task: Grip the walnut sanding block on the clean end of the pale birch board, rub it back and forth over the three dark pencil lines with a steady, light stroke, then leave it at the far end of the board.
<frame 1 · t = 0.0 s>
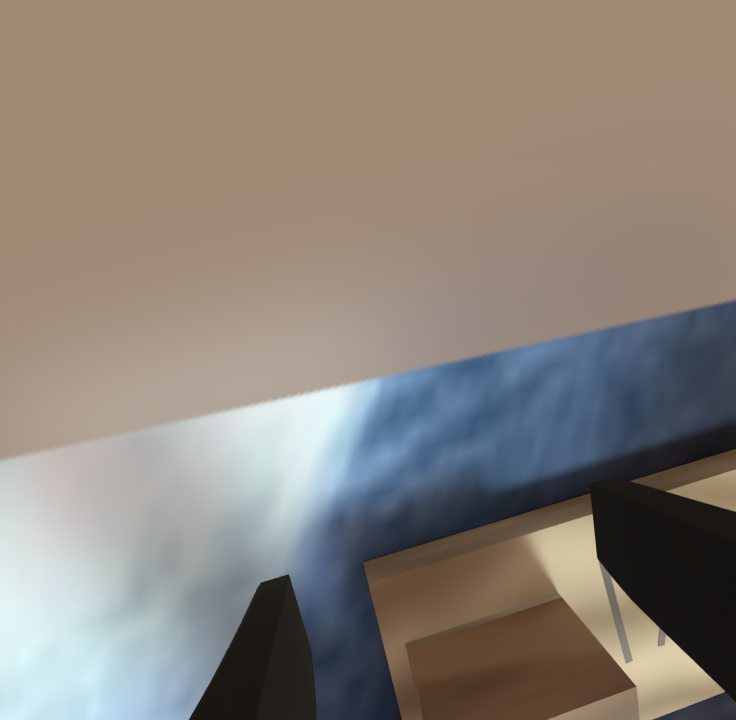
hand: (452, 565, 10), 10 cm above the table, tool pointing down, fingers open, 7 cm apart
board: (597, 605, 24), on the table
sanding block: (490, 654, 21), point 1 cm above the table, touching board
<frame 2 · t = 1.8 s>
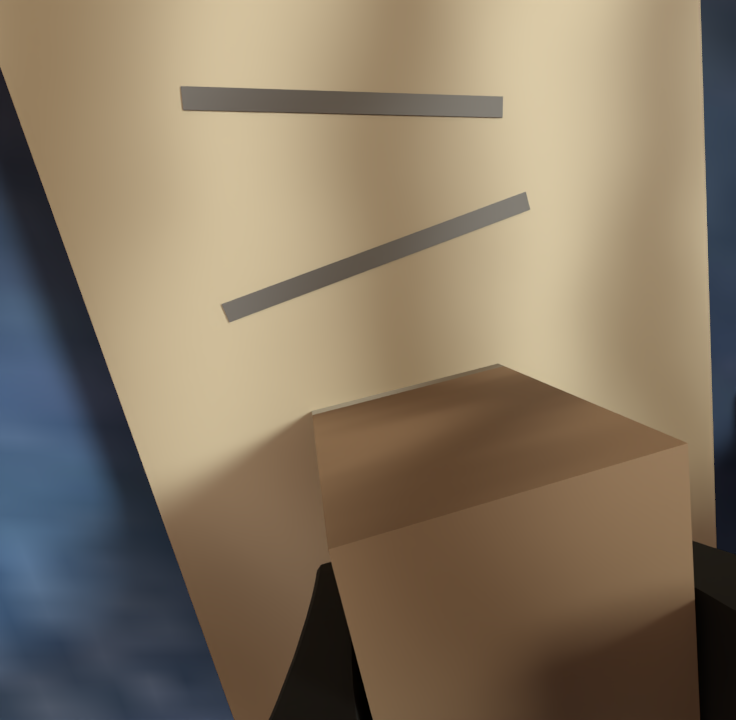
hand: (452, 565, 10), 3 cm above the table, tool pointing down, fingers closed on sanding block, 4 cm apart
board: (408, 250, 11), on the table
sanding block: (437, 536, 11), point 1 cm above the table, touching board, gripper
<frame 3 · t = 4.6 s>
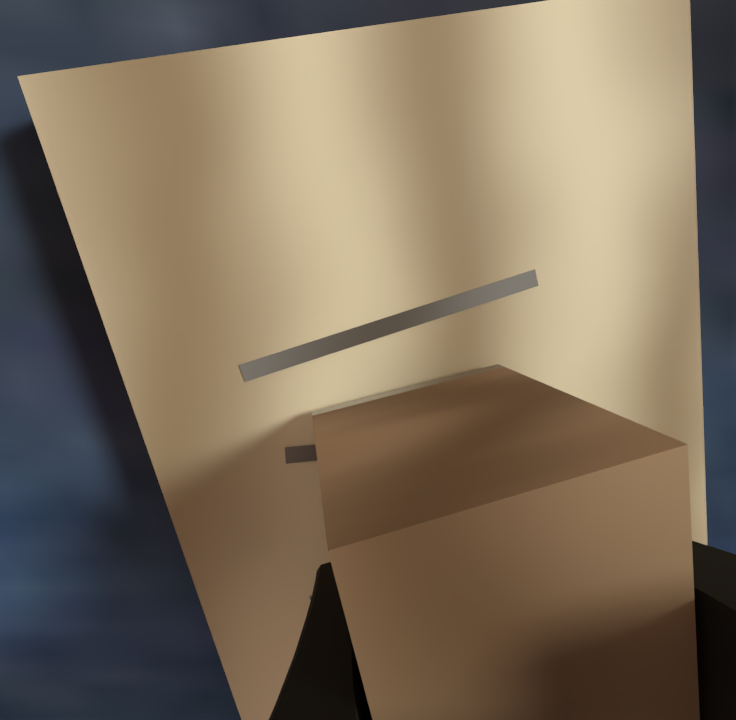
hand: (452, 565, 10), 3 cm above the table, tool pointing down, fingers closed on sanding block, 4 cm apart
board: (453, 506, 13), on the table
sanding block: (436, 536, 11), point 2 cm above the table, touching gripper
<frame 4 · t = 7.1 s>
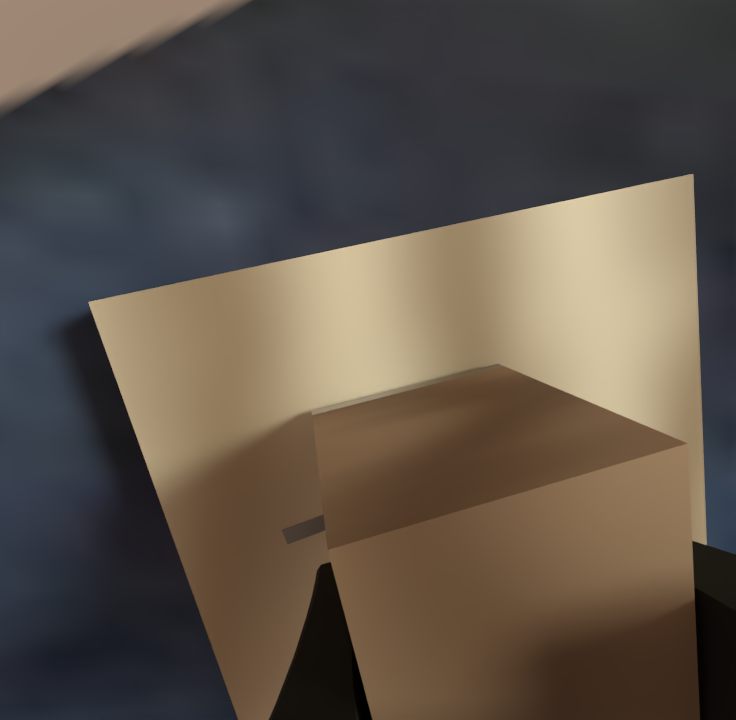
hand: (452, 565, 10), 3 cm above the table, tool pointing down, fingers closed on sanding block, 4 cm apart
board: (472, 621, 13), on the table
sanding block: (436, 536, 11), point 2 cm above the table, touching gripper
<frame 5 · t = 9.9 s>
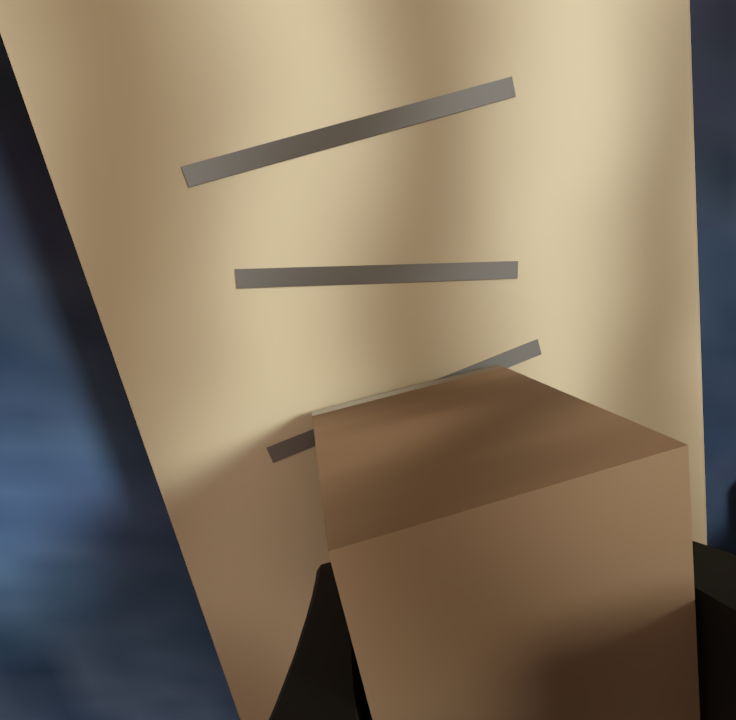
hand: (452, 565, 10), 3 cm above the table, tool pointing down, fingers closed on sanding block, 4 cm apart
board: (429, 375, 12), on the table
sanding block: (437, 537, 11), point 2 cm above the table, touching gripper
when the fingers open (3 cm above the table, at t = 12.6 s): sanding block stays where it is, resting on board.
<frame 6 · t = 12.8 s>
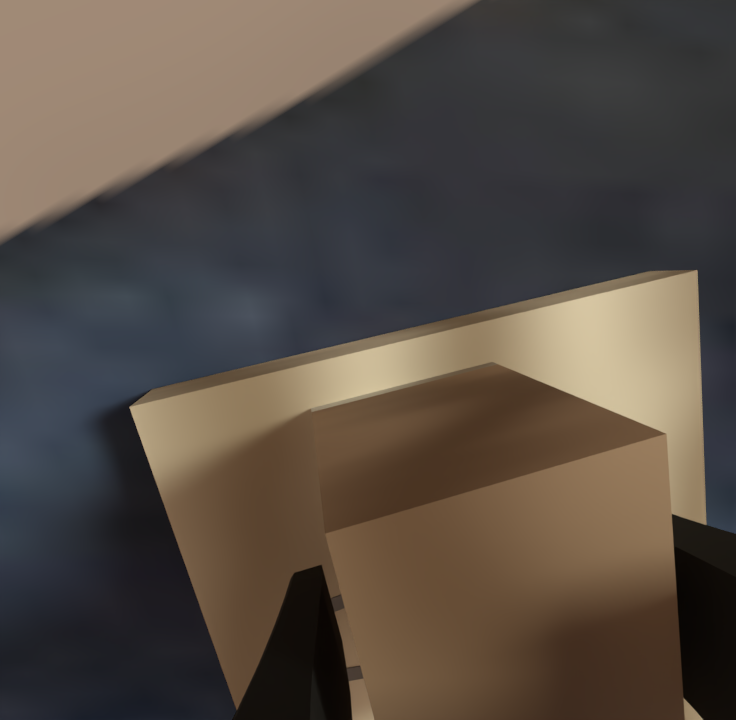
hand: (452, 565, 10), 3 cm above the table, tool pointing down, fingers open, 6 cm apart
board: (484, 678, 14), on the table
sanding block: (433, 530, 11), point 2 cm above the table, touching board
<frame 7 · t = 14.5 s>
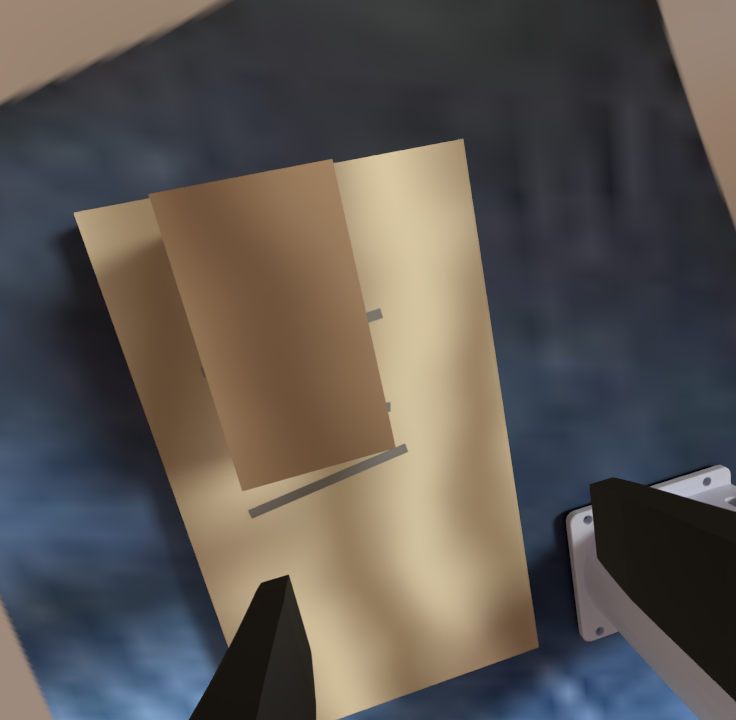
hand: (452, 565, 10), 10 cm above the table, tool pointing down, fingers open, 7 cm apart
board: (348, 458, 19), on the table
sanding block: (287, 317, 16), point 2 cm above the table, touching board
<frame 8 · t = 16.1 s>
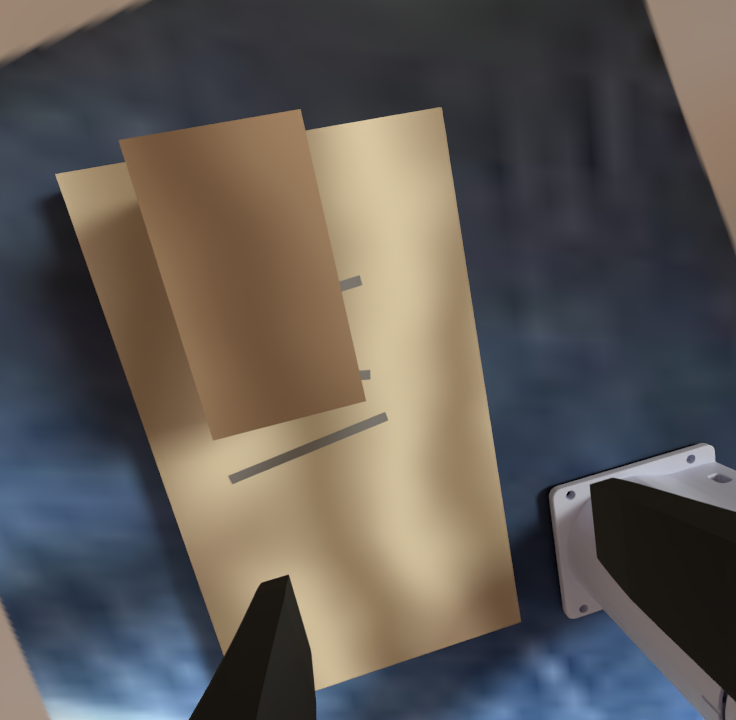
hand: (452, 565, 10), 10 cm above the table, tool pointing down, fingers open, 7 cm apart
board: (330, 429, 19), on the table
sanding block: (267, 282, 16), point 2 cm above the table, touching board
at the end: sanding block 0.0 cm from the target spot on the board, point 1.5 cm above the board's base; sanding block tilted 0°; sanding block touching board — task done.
